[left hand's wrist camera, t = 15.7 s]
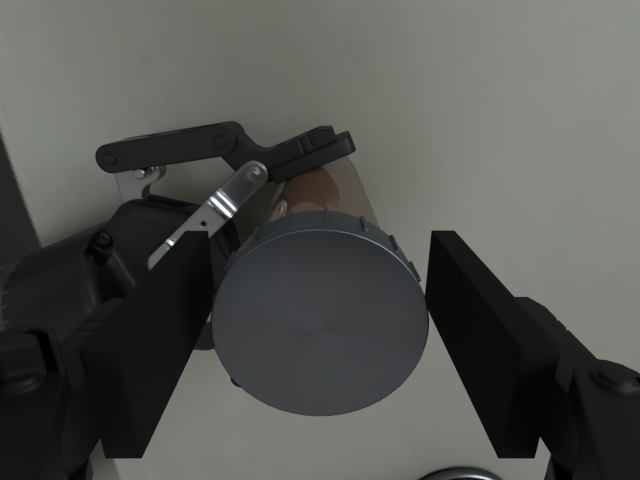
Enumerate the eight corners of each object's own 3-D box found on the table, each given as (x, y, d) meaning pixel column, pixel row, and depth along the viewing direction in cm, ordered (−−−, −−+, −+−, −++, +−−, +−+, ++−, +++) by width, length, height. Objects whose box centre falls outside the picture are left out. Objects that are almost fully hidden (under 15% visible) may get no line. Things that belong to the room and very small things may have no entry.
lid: (302, 409, 13) (299, 449, 12) (180, 281, 12) (160, 310, 10) (454, 319, 12) (472, 352, 11) (342, 164, 11) (346, 177, 9)
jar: (263, 187, 25) (194, 319, 11) (318, 128, 24) (316, 194, 10) (320, 238, 26) (322, 415, 12) (375, 185, 25) (445, 314, 11)
